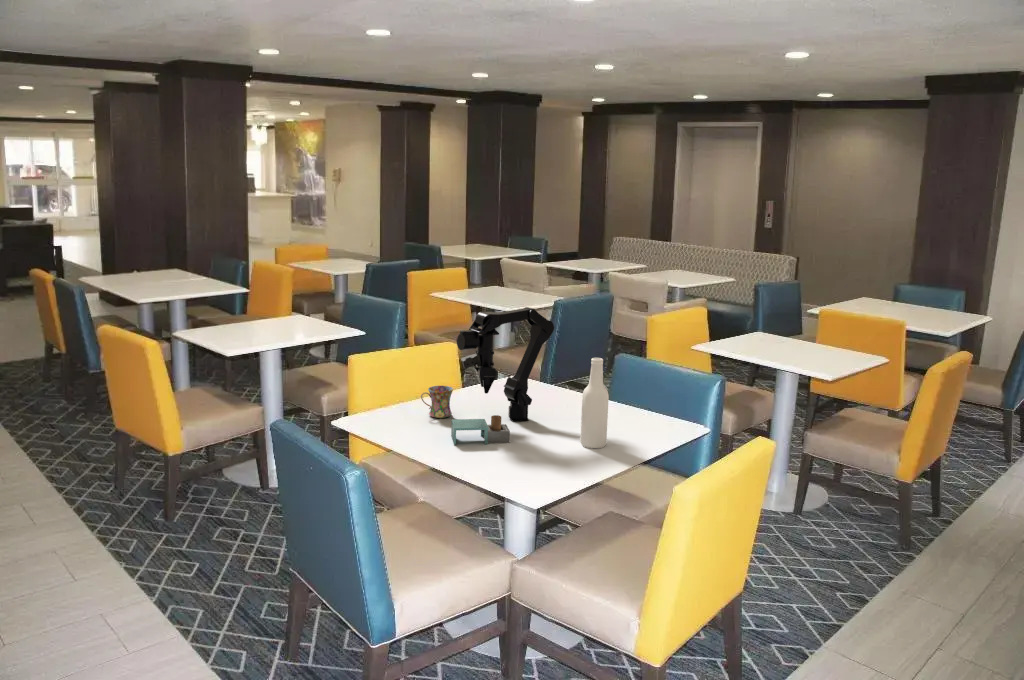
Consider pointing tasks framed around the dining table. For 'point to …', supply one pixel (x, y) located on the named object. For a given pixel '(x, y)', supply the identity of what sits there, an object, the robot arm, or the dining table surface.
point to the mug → (439, 401)
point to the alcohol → (594, 408)
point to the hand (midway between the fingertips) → (484, 390)
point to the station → (486, 431)
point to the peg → (496, 422)
